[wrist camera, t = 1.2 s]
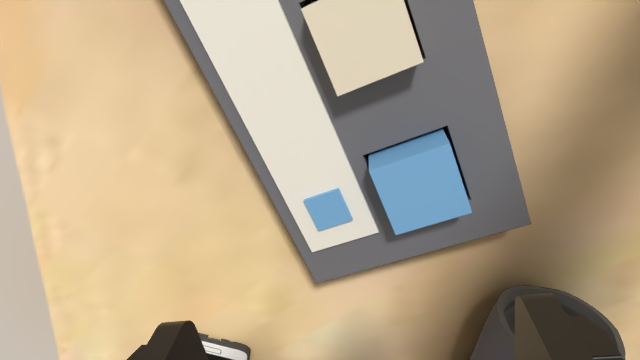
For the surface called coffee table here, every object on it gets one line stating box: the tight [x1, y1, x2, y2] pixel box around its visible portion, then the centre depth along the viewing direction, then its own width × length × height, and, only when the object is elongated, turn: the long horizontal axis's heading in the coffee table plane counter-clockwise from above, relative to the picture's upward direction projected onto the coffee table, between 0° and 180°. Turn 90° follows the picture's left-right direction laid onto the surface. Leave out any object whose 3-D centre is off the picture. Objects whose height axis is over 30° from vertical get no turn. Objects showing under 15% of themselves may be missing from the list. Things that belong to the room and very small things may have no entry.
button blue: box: [369, 128, 472, 235], centre depth 27 cm, size 5×5×4 cm
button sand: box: [301, 0, 424, 96], centre depth 24 cm, size 5×5×4 cm
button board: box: [164, 0, 531, 283], centre depth 25 cm, size 16×32×4 cm, turn 24°
